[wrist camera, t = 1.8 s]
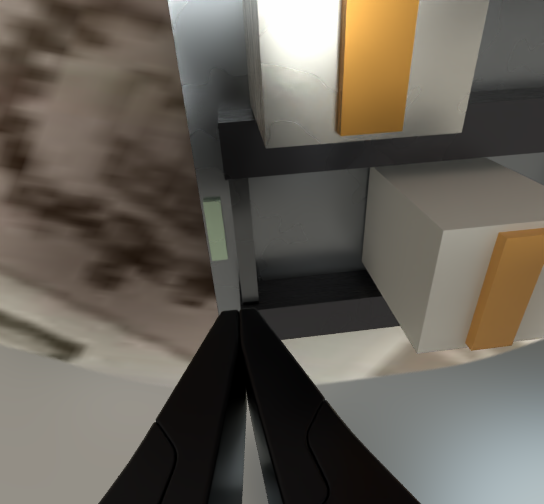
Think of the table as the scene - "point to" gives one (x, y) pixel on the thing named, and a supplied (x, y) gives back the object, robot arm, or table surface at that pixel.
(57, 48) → the table surface
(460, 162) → the block
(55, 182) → the table surface
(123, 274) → the table surface
